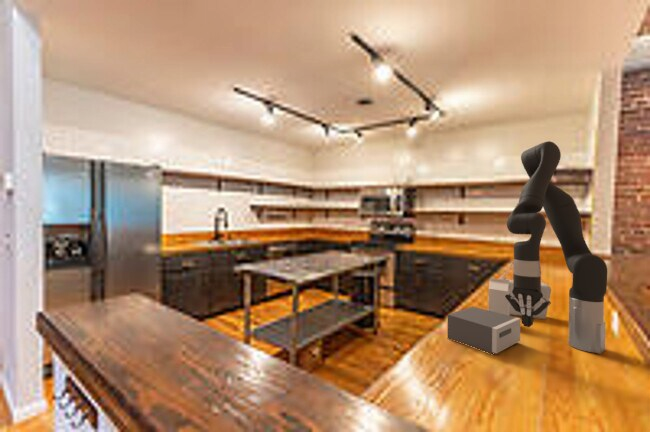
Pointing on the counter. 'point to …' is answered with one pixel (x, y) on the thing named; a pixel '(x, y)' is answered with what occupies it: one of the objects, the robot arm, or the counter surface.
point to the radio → (546, 294)
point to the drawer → (505, 335)
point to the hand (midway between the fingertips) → (527, 326)
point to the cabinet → (475, 327)
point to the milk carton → (498, 296)
